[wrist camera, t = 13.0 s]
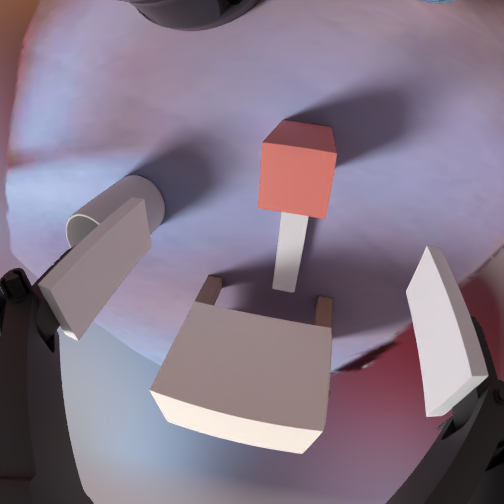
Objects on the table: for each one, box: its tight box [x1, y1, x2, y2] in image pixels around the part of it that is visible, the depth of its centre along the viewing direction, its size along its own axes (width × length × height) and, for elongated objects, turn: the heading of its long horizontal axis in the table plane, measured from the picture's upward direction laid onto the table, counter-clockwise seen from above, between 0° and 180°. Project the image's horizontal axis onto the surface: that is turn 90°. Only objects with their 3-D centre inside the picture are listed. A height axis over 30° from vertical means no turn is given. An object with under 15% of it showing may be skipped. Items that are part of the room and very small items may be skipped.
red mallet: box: [258, 120, 337, 293], centre depth 28 cm, size 22×5×11 cm, turn 177°
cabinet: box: [150, 275, 332, 453], centre depth 35 cm, size 10×19×20 cm, turn 87°
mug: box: [66, 175, 165, 248], centre depth 33 cm, size 12×8×11 cm
